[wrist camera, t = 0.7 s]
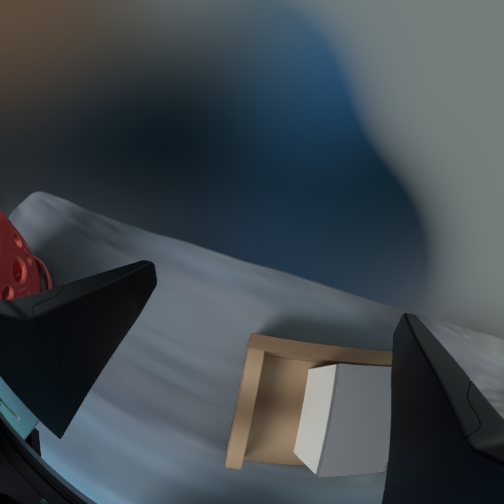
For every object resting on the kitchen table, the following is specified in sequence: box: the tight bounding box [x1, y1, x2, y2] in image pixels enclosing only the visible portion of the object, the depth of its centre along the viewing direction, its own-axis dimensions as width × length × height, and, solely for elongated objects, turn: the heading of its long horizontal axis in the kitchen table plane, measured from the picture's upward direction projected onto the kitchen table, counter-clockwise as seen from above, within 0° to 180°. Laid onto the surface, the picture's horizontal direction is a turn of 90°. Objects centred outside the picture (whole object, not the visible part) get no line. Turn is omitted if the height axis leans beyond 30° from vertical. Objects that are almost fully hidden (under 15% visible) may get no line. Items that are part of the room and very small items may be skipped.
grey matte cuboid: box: [294, 364, 391, 477], centre depth 17 cm, size 8×5×7 cm, turn 170°
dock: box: [225, 333, 392, 470], centre depth 19 cm, size 11×16×4 cm
